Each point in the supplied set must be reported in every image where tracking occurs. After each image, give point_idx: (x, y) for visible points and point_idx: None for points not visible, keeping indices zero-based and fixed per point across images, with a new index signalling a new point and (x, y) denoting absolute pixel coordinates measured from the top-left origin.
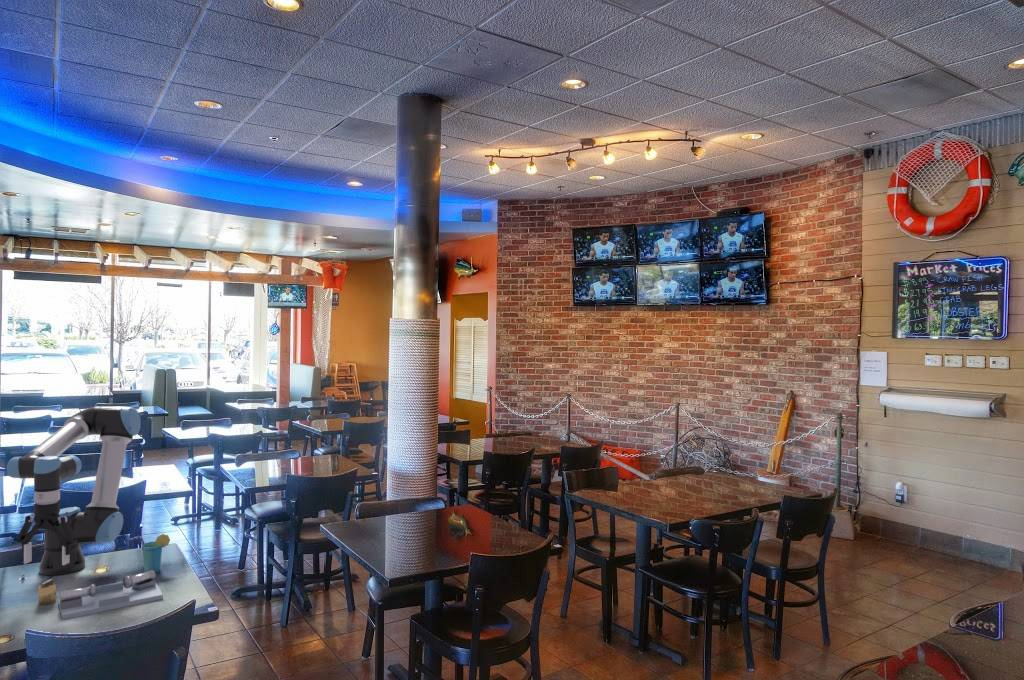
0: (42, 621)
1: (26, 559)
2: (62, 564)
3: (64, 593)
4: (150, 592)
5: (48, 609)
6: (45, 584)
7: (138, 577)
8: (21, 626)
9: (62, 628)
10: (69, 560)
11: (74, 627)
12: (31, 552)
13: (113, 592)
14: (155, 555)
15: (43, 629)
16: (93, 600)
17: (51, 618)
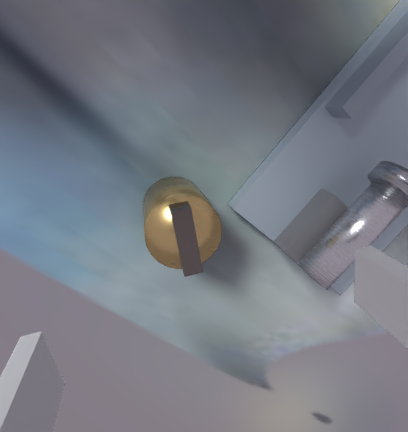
0: (284, 314)
1: (53, 409)
2: (360, 302)
3: (337, 278)
4: None
5: (231, 249)
6: (200, 261)
7: None
8: (252, 354)
9: (366, 321)
10: (383, 253)
11: None
12: (13, 408)
13: (398, 75)
14: None
15: (323, 342)
16: (367, 173)
17: (294, 292)
